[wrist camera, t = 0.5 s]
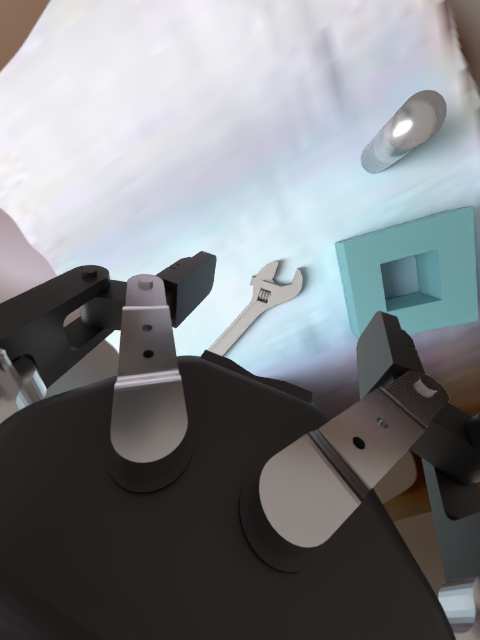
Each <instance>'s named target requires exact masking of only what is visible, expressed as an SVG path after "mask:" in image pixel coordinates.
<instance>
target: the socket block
mask: <svg viewBox="0 0 480 640" xmlns="http://www.w3.org/2000/svg"><path fill="white" fill-rule="evenodd" d="M335 247H336V252H337V258H338V263H339V268H340V274H341V279H342V284H343V290H344V295H345V300H346V306H347V311H348V316H349V322H350V327H351V331H352V332H353V333H354V335H355V336H356V337H357V338H358V340H359V338H360V336H361V334H362V333H363V331H364V330H365V328H366V327H367V325H368V324H369V322H370V321H371V319H372V318H373V316H374V315H375V313H376V312H377V311H382V312H385V313H388V314H391V315H394V316H397V317H398V320H399V323H400V326H401V329H402V330H405V331H406V332H407V334H413V333H418V332H423V331H428V330H433V329H438V328H444V327H449V326H454V325H459V324H464V323H469V322H475V321H478V299H477V276H476V254H475V231H474V208H473V206H470V207H464V208H459V209H453V210H448V211H443V212H440V213H436V214H433V215H429V216H426V217H422V218H419V219H416V220H412V221H409V222H405V223H402V224H398V225H395V226H391V227H388V228H385V229H381V230H378V231H374V232H371V233H367V234H364V235H361V236H357V237H354V238H350V239H347V240H343V241H340V242H337V243H335ZM414 255H416V262H417V271H418V281H419V290H420V292H416V293H412V294H408V295H403V296H399V297H395V298H390V299H386V300H385V295H384V288H383V281H382V274H381V267H380V264H383V263H387V262H391V261H394V260H398V259H402V258H406V257H410V256H414Z"/></svg>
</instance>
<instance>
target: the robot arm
mask: <svg viewBox="0 0 480 640" xmlns="http://www.w3.org/2000/svg"><path fill="white" fill-rule="evenodd" d="M215 267H216V256H215V255H212V254H209V253H206V252H203V251H200V252H199V253H198V254H196V255H195V256H193V257H192V258H191V257H187V258H183V259H180V260H178V261H177V262H175V263H174V264H172V265H171V266H170V267H168V268H166V269H164V270H163V271H161V272H160V273H158V274H157V275H155V276H154V275H149V274H140V275H136V276H133V277H131V278H130V279H128V281H127V282H122V281H116V280H110V276H109V271H108V270H107V269H106V268H104V267H101V266H96V265H85V266H80V267H76V268H74V269H72V270H70V271H68V272H66V273H64V274H61V275H59V276H57V277H55V278H53V279H51V280H49V281H47V282H45V283H43V284H41V285H39V286H36V287H34V288H32V289H30V290H28V291H26V292H24V293H22V294H20V295H18V296H16V297H13V298H11V299H9V300H7V301H5V302H3V303H1V304H0V640H480V491H479V488H478V486H477V483H476V482H478V481H480V413H478V414H477V415H475V416H474V417H472V416H470V415H468V414H467V413H465V412H463V411H461V410H460V409H458V408H456V407H454V406H453V405H451V404H450V403H448V402H449V395H448V393H447V392H446V390H445V389H444V388H443V386H442V385H441V384H440V383H438V382H437V381H436V380H435V379H433V378H432V377H430V376H428V375H426V374H425V372H424V369H423V367H422V364H421V361H420V359H419V356H418V355H417V354H418V353H417V351H416V349H415V345H414V342H413V340H412V338H411V337H410V336H409V335H408V334H407V332H406V331H405V330H402V329H401V326H400V323H399V320H398V317H397V316H394V315H391V314H388V313H385V312H382V311H377V312H376V313H375V315H374V316H373V318H372V319H371V321H370V322H369V324H368V325H367V327H366V328H365V330H364V331H363V333H362V334H361V336H360V338H359V340H358V343H357V363H358V378H359V392H360V401H358V402H357V403H355V404H354V405H352V406H351V407H349V408H348V409H346V410H345V411H344V412H342V413H341V414H339V415H338V416H336V417H335V418H333V419H332V420H331V419H330V418H329V417H328V416H327V415H326V413H324V412H323V411H322V410H321V409H320V408H319V407H318V406H316V405H315V404H314V403H312V402H311V398H312V392H310V391H307V390H305V389H302V388H300V387H298V386H295V385H293V384H290V383H288V382H285V381H280V380H275V379H270V378H264V377H259V376H255V375H253V374H251V373H250V372H248V371H247V370H245V369H244V368H242V367H241V366H239V365H238V364H236V363H235V362H233V361H232V360H230V359H228V358H225V357H223V356H220V355H218V354H215V353H213V352H210V351H208V350H205V351H204V353H203V354H202V356H201V357H200V356H176V350H175V343H174V337H173V330H172V327H174V328H177V327H178V326H179V325H180V324H181V323H182V322H183V321H184V320H185V318H186V317H187V316H188V315H189V314H190V313H191V312H192V311H193V310H194V309H195V308H196V307H197V306H198V305H199V304H200V303H201V302H202V301H203V300H204V299H205V298H206V296H207V295H208V294H209V293H210V291H211V289H212V286H213V281H214V274H215ZM78 308H79V311H80V315H81V316H80V317H79V318H77V319H76V320H74V321H73V322H71V323H70V324H68V325H67V326H66V327H63V323H64V320H65V318H66V316H68V314H70V313H71V312H73V311H75V310H76V309H78ZM114 330H121V336H120V349H119V361H118V362H119V363H118V374H117V375H116V376H113V377H111V378H107V379H104V380H101V381H98V382H95V383H92V384H89V385H86V386H82V387H80V388H76V389H73V390H70V391H67V392H64V393H61V394H58V395H55V396H52V397H48V398H46V399H44V397H45V395H46V389H47V388H48V387H50V386H51V385H52V384H53V383H54V382H55V381H56V380H58V379H59V378H60V377H61V376H62V375H63V374H64V373H66V372H67V371H68V370H69V369H70V368H72V367H73V366H74V365H75V364H76V363H77V362H79V361H80V360H81V359H82V358H83V357H84V356H85V355H87V354H88V353H89V352H90V351H91V350H92V349H94V348H95V347H96V346H97V345H98V344H99V343H100V342H102V341H103V340H104V339H105V338H106V337H107V336H109V335H110V334H111V333H112V332H113V331H114ZM408 449H410V450H411V451H413V452H414V453H416V454H417V455H419V456H420V457H421V458H422V463H423V468H424V473H425V478H426V484H427V489H428V494H429V499H430V504H431V509H432V514H433V519H434V524H435V529H436V534H437V539H438V544H439V550H440V555H441V559H442V564H443V570H444V575H445V580H446V582H445V583H444V584H442V586H441V588H440V591H439V597H438V598H437V596H436V594H435V592H434V591H433V589H432V587H431V585H430V584H429V582H428V580H427V579H426V577H425V575H424V574H423V572H422V571H421V569H420V567H419V565H418V564H417V562H416V560H415V559H414V557H413V555H412V553H411V552H410V550H409V548H408V547H407V545H406V543H405V542H404V540H403V538H402V537H401V535H400V533H399V531H398V530H397V528H396V526H395V525H394V523H393V521H392V520H391V518H390V516H389V515H388V513H387V511H386V509H385V508H384V506H383V504H382V503H381V501H380V499H379V498H378V496H377V495H376V493H375V491H374V489H373V487H374V486H375V484H376V483H377V482H378V481H379V480H380V479H381V478H382V477H383V476H384V475H385V474H386V472H388V471H389V469H390V468H391V467H392V466H393V465H394V464H395V463H396V462H397V461H398V460H399V459H400V458H401V456H403V454H404V453H405V452H406V451H407V450H408Z"/></svg>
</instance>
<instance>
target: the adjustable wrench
mask: <svg viewBox="0 0 480 640" xmlns="http://www.w3.org/2000/svg"><path fill="white" fill-rule="evenodd" d="M278 263H279V262H277V261H274V262H271V263H269V264H267V265H266V266H264V267H263V268H262V269H261V270H260V272H259V273H258V274H257V275H256V277H254V276H252V280H251V283H250V285H253V287H254V289H253V297H252V300H251V302H250V303H249V305H248V306H247V307H246V308H245V309H244V310H243V311H242V313H241V314H240V315H239V316H238V317H237V318H236V319H235V320H234V321H233V322H232V324H231V325H230V326H229V327H228V328H227V329H226V330H225V331H224V332H223V333H222V335H221V336H220V337H219V338H218V339H217V340H216V341H215V342H214V343H213V344H212V345H211V347H210V348H209V349H208V351H210V352H213V353H215V354H218V355H220V356H223V355H224V354H225V352H226V351H227V350H228V349H229V348H230V347H231V346H232V345H233V343H234V342H235V341H236V340H237V339H238V338H239V337H240V336H241V334H242V333H243V332H244V331H245V330H246V329H247V328H248V327H249V325H250V324H251V323H252V322H253V321H254V320H255V319H256V318H257V316H259V315H260V314H261V313H262V312H264V311H265V310H267V309H269V308H271V307H273V306H275V305H278V304H281V303H283V302H286V301H289V300H291V299H293V298H294V297H295V296H297V295H298V293H299V292H300V290H301V288H302V283H303V277H302V274H301V271H300V270H299V269H298V268H297V270H296V272H295V275H294V278H293V280H292V283H290V284H286V285H278V284H276V283H275V282H274V281H273V279H272V278H273V277H274V274H275V271H276V269H277V266H278ZM263 289H264V290H263ZM265 290H267V291H265ZM268 291H269V292H268ZM258 297H260V299H261V298H262V300H263V299H265V301H266V299H267V300H268V302H265V301H262V300H259V299H258Z"/></svg>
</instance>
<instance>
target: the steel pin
mask: <svg viewBox="0 0 480 640" xmlns="http://www.w3.org/2000/svg"><path fill="white" fill-rule="evenodd" d="M445 116H446V103H445V100H444V98H443V97H442V96H441V95H440V94H439V93H438V92H436V91H432V90H425V91H421V92H418V93H416V94H414V95H413V96H412V97H410V98H409V99H408V100H407V101H406V102H405V103H404V105H403V106H402V107H401V108H400V109H399V110H398V111H397V112H396V114H395V115H394V116H393V117H392V118H391V119H390V120H389V121H388V123H387V124H386V125H385V126H384V127H383V128H382V129H381V130H380V131H379V133H378V134H377V135H376V136H375V137H374V138H373V139H372V140H371V142H370V143H369V144H368V145H367V146H366V147H365V149H364V150H363V153H362V156H361V163H362V166H363V168H364V169H365V170H366V171H367V172H369V173H379V172H382V171H383V170H385V169H386V168H388V167H389V166H390V165H392V164H393V163H395V162H396V161H398V160H399V159H401V158H402V157H403V156H405V155H406V154H408V153H409V152H411V151H412V150H413V149H415V148H416V147H418V146H419V145H421V144H422V143H423V142H425V141H426V140H428V139H429V138H431V137H432V136H433V135H434V134H436V132H437V131H438V130H439V129H440V127H441V126H442V124H443V122H444V119H445Z"/></svg>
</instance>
